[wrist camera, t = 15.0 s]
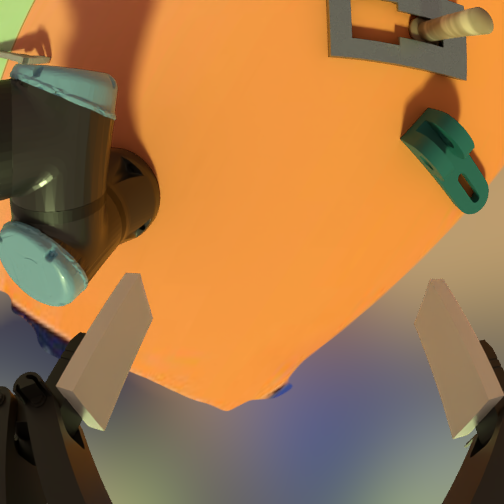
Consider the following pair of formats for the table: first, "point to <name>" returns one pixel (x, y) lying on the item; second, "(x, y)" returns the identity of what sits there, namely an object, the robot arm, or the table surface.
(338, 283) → the table surface
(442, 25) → the peg
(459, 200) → the bracket
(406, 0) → the keyhole plate
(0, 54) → the caliper
